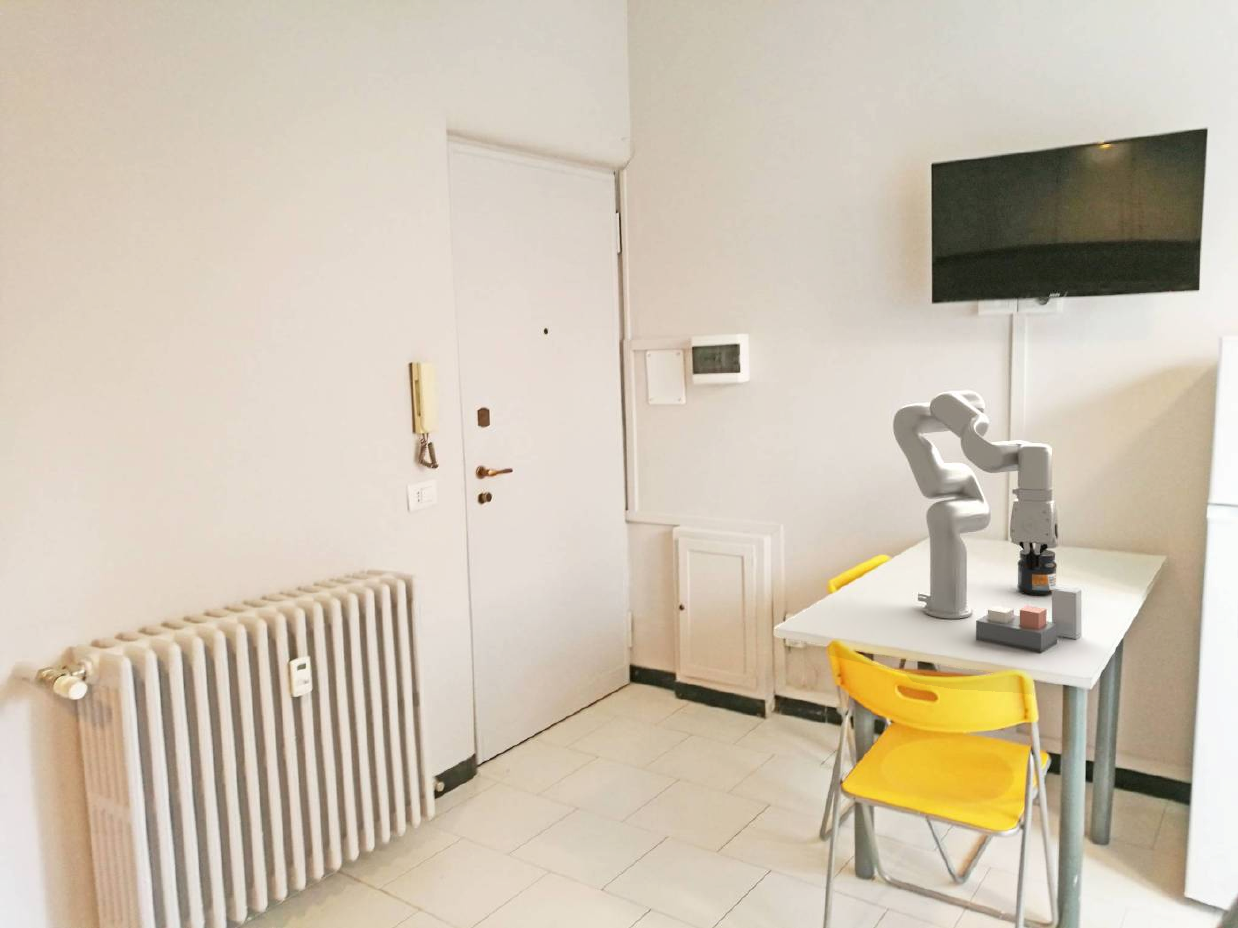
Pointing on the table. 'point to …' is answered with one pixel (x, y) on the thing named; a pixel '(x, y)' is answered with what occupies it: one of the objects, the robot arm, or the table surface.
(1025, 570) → the supplement container
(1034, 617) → the brick key
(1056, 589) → the skincare box
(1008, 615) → the ivory key
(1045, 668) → the table surface
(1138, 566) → the table surface
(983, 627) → the key housing
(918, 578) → the table surface
